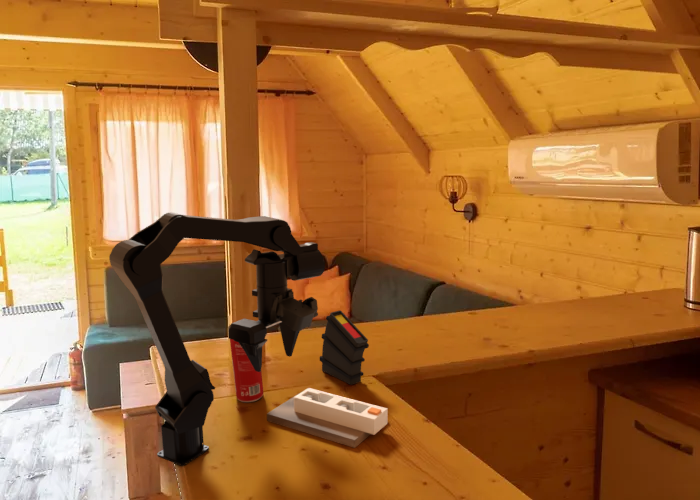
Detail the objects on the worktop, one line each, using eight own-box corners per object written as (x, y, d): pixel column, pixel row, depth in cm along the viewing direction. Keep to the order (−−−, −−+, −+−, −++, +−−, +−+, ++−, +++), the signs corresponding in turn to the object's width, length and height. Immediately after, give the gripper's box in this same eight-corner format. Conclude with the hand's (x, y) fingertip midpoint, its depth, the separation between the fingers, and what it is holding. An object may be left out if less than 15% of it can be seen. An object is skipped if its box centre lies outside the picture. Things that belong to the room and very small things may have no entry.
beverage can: (269, 394, 131) (266, 328, 128) (249, 406, 125) (246, 337, 122) (247, 389, 134) (244, 323, 131) (227, 400, 128) (223, 332, 125)
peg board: (354, 447, 109) (354, 427, 108) (267, 420, 119) (266, 401, 119) (386, 420, 119) (386, 401, 118) (303, 397, 129) (302, 379, 129)
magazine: (324, 356, 147) (340, 308, 140) (356, 395, 140) (375, 346, 132) (311, 360, 145) (327, 312, 137) (343, 399, 137) (362, 350, 130)
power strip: (374, 434, 111) (374, 417, 110) (294, 411, 120) (293, 395, 119) (387, 423, 115) (387, 406, 114) (309, 401, 124) (308, 385, 123)
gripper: (273, 302, 102) (275, 390, 105) (335, 279, 117) (336, 356, 121) (224, 293, 108) (227, 376, 111) (289, 272, 123) (291, 346, 126)
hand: (274, 363), depth 117 cm, fingers open, 9 cm apart
